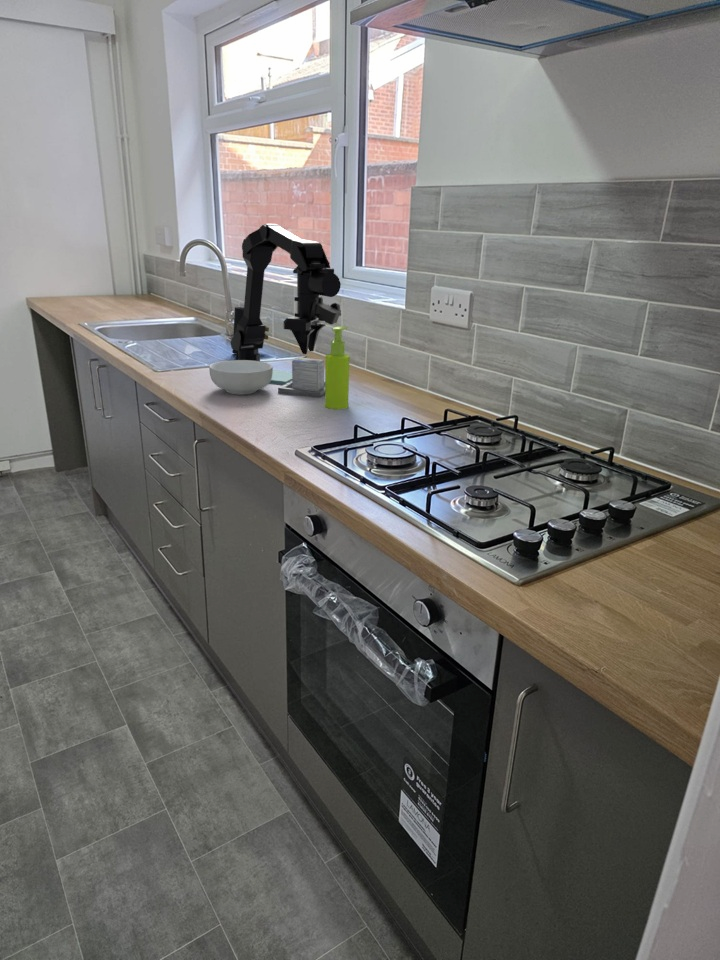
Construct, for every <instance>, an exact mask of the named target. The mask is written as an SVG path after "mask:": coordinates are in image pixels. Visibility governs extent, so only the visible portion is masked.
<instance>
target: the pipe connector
mask: <svg viewBox="0 0 720 960" xmlns="http://www.w3.org/2000/svg"><path fill="white" fill-rule="evenodd" d="M243 314H244V306H243V307H241V306H240V307H239V306H235V307H234V317H233V332H232V333H233V336H234V334H235V332H236V328H237V323H238V322H239V320H240V319H241V318H242V316H243ZM265 327H266V329H265V332H269V333H270V327H269V326H268V325H265ZM233 336H232V337H233ZM264 340H269V335H268V334H267V333H265V338H264ZM232 354H234V355H236V350H234V349H232Z"/></svg>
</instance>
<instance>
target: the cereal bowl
mask: <svg viewBox="0 0 720 960" xmlns="http://www.w3.org/2000/svg"><path fill="white" fill-rule="evenodd" d="M208 368H209V376H210V377H209V378H210V379H211V381H212V383H214V385H215V386H216V387H218V388H221V389H223V390H225V391H226V392H227V393H229V394H232V395H251V394H254V393H256V392H257V390H262V389H263V388H266V387H267V386H268V385H269V384H270V383H269V382H270V381H271V378H272V373H273V370H274V368H273V365H272V364H271V363H268V362H264V361H261V360H260V361H252V360H236V359H235V360H223V361H216V362H213V363H211V364H209V367H208Z"/></svg>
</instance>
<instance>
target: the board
mask: <svg viewBox="0 0 720 960" xmlns="http://www.w3.org/2000/svg"><path fill="white" fill-rule="evenodd" d="M290 381H292V371H287V370H280V369H279V370H278V369H273V373H272V378H271V381H270V382H269V384H272V385H273V384H274V385H281V386H283V385H285V384H287V383H289V382H290Z"/></svg>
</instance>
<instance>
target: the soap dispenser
mask: <svg viewBox="0 0 720 960" xmlns="http://www.w3.org/2000/svg"><path fill="white" fill-rule="evenodd" d="M347 329H348V327H347V326H340V325H339V326H334V327H333V328H332V332H334V339H332V340H331V341H330V353H328V354H326V355H325V371H324V382H325V395H324V407H325V408H327V409H331V410H343V409H347V408H349V391H350V390H349V389H350V388H349V387H350V386H349V385H350V355H349V354H346V353H345V352H346V351H345V350H346V349H345V347H346V346H345V344H346V343H345V342H346V341H344V339H342V337H343V336H342V334H343V333H342V332H343V331H344V330H347Z"/></svg>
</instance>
